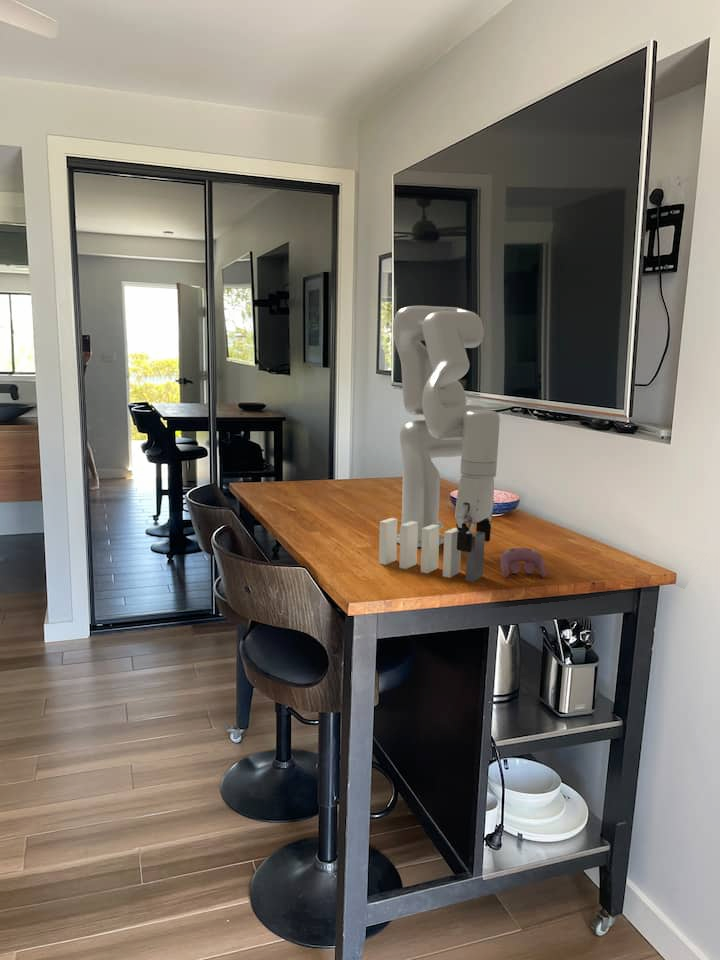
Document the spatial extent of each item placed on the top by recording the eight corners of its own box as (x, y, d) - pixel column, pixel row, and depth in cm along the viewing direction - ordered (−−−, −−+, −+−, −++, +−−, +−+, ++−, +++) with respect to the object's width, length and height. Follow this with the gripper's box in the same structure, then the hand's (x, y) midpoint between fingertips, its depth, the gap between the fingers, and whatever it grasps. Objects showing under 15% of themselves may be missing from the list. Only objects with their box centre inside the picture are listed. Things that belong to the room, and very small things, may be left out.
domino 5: (465, 580, 155) (467, 535, 153) (475, 575, 159) (477, 531, 157) (473, 582, 154) (475, 536, 152) (482, 576, 158) (485, 532, 156)
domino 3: (420, 571, 161) (421, 528, 159) (430, 566, 165) (432, 524, 163) (427, 573, 160) (429, 529, 158) (438, 568, 164) (439, 525, 162)
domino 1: (378, 563, 167) (379, 521, 165) (389, 558, 171) (390, 517, 169) (385, 565, 166) (386, 522, 164) (396, 560, 170) (397, 518, 168)
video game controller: (542, 580, 161) (539, 549, 163) (548, 577, 157) (545, 545, 159) (498, 580, 161) (496, 549, 163) (503, 576, 156) (501, 545, 159)
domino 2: (399, 567, 164) (400, 525, 162) (410, 562, 168) (411, 521, 166) (406, 569, 163) (407, 526, 161) (416, 564, 167) (418, 522, 165)
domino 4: (442, 576, 158) (444, 531, 156) (452, 570, 162) (454, 527, 160) (450, 577, 157) (451, 533, 155) (459, 572, 161) (461, 528, 159)
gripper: (478, 460, 162) (474, 533, 165) (444, 472, 148) (440, 551, 151) (510, 464, 158) (505, 539, 161) (478, 477, 144) (472, 558, 147)
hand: (473, 545), depth 156 cm, fingers open, 9 cm apart
